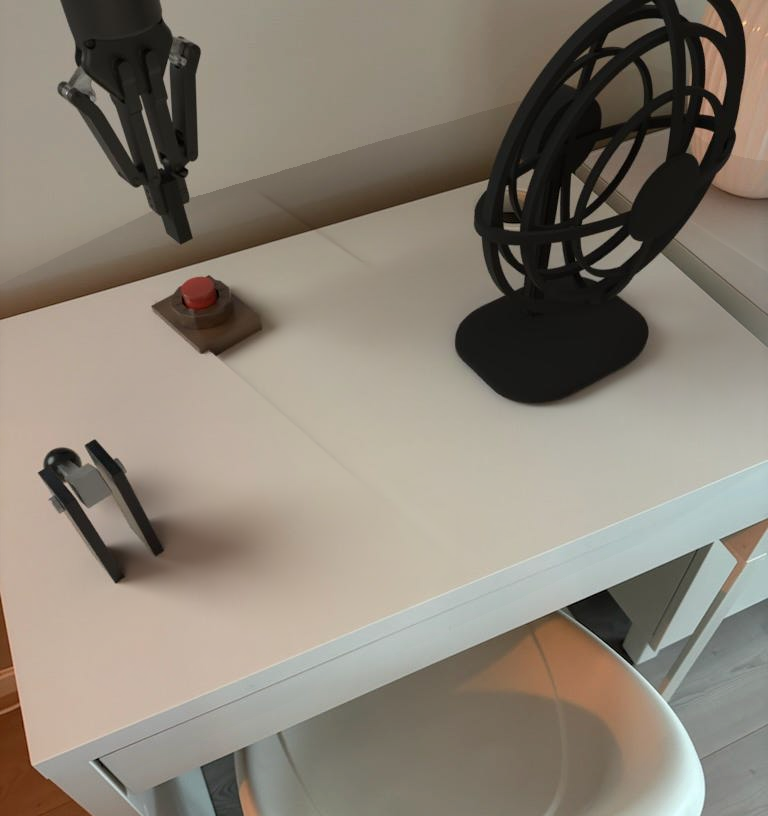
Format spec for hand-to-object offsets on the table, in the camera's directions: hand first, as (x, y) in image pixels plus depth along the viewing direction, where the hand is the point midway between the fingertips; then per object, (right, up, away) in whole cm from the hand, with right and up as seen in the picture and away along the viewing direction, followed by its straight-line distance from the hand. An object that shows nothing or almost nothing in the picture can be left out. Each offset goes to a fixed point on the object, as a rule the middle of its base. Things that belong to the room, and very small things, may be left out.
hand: (179, 235), depth 77 cm
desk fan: (+39, -11, +5) cm, 41 cm away
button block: (+1, -7, +9) cm, 12 cm away
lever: (-4, -26, -13) cm, 30 cm away
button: (+1, -5, +6) cm, 8 cm away
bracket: (-2, -33, -9) cm, 34 cm away
